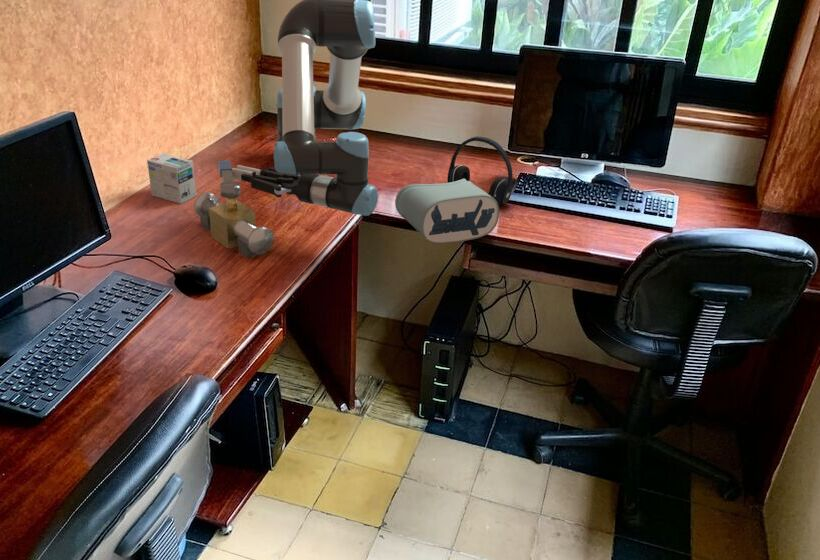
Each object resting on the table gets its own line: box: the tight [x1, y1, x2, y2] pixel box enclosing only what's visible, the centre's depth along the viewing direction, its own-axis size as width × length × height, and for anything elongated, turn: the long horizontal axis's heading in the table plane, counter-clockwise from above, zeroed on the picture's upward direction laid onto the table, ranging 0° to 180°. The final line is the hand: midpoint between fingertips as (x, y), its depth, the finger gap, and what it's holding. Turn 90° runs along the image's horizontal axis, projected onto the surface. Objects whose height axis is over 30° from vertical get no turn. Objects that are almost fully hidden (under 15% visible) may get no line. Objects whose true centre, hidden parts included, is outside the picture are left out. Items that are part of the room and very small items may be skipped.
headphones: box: [447, 136, 514, 206], centre depth 213 cm, size 20×7×18 cm, turn 55°
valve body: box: [193, 191, 275, 259], centre depth 183 cm, size 26×8×12 cm, turn 44°
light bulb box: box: [146, 152, 197, 205], centre depth 202 cm, size 11×7×11 cm, turn 65°
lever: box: [217, 159, 242, 199], centre depth 185 cm, size 19×5×2 cm, turn 18°
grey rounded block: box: [394, 179, 500, 245], centre depth 195 cm, size 22×19×13 cm
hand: (235, 171), depth 189 cm, fingers open, 2 cm apart
